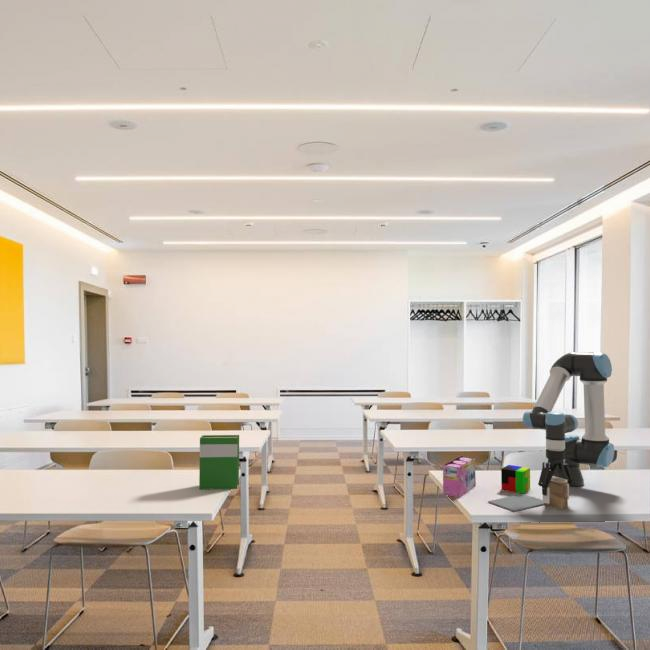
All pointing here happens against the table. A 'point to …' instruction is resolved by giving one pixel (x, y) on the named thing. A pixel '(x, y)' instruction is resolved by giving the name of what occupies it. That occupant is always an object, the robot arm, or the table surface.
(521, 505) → the mat
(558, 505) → the slab
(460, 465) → the gum box
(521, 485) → the puzzle toy
